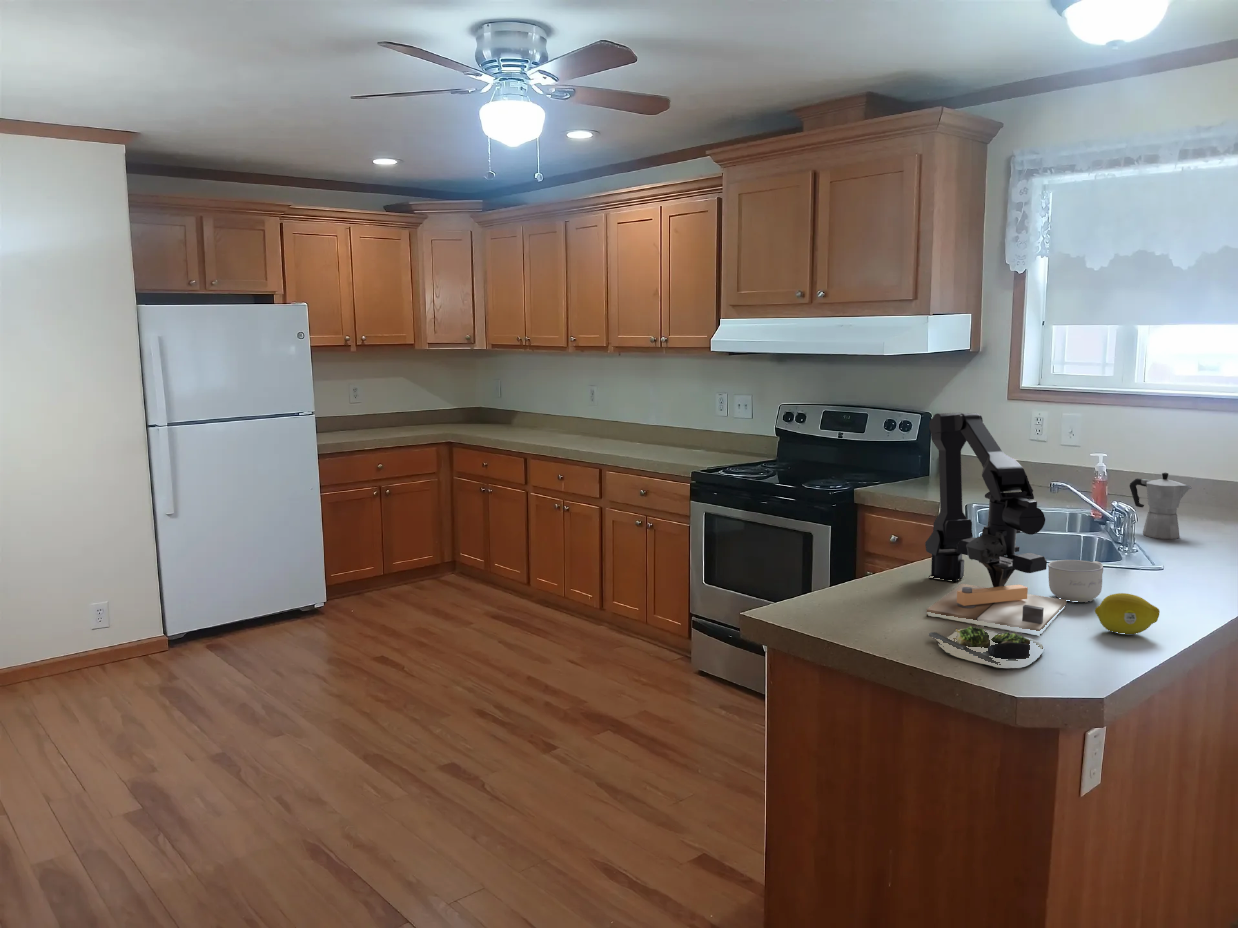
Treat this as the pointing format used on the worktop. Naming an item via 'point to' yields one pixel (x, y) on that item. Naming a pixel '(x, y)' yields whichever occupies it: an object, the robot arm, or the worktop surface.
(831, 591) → the worktop surface
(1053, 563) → the teacup
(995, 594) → the bar
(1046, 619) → the door and jamb
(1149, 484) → the coffeepot
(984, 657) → the salad plate
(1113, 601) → the lemon
